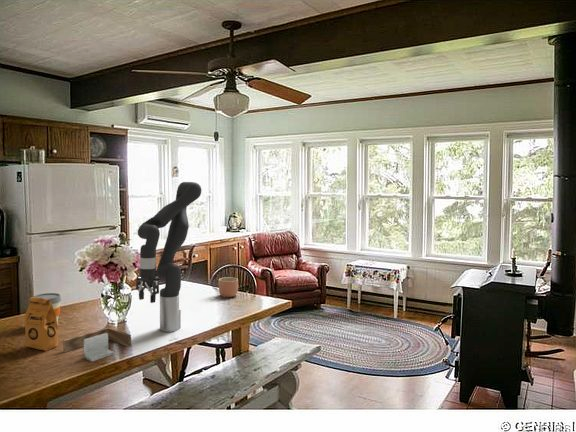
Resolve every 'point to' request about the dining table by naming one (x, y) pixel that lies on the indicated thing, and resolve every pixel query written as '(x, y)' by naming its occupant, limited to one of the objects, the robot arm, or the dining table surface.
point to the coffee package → (41, 325)
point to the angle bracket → (96, 347)
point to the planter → (228, 286)
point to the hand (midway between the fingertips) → (147, 301)
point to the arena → (112, 335)
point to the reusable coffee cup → (52, 301)
